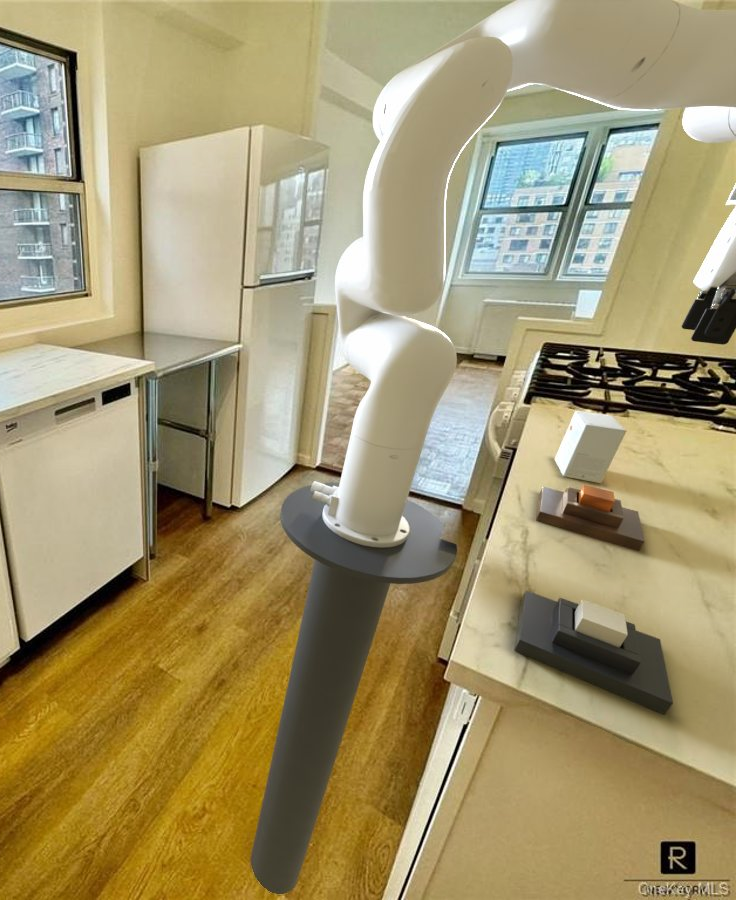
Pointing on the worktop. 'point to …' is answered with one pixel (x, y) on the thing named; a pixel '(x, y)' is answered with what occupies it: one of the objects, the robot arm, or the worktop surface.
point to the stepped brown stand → (590, 518)
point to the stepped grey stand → (593, 652)
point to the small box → (589, 446)
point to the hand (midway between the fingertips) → (701, 335)
